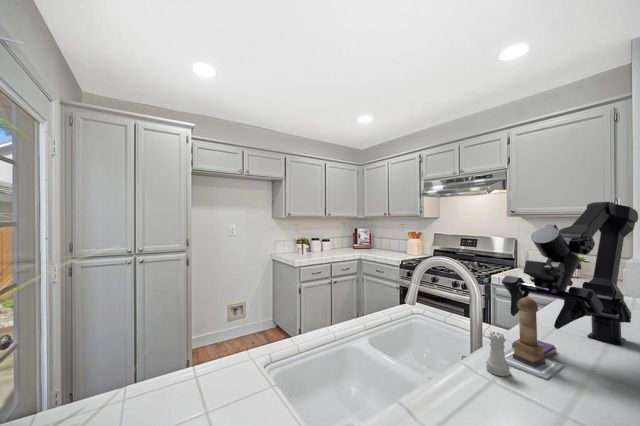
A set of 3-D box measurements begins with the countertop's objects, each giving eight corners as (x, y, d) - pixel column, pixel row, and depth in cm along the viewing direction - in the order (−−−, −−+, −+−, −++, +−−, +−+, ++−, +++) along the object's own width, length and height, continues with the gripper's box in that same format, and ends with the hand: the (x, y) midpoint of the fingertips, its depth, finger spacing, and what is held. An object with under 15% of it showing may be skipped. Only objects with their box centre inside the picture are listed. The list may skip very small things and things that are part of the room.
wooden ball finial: (524, 355, 65) (523, 294, 66) (545, 363, 61) (543, 299, 62) (512, 358, 63) (511, 296, 64) (533, 367, 59) (531, 301, 60)
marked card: (513, 349, 69) (513, 347, 69) (564, 366, 60) (564, 364, 60) (494, 359, 64) (494, 357, 64) (546, 380, 55) (546, 377, 55)
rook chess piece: (514, 378, 56) (513, 339, 56) (490, 375, 57) (489, 337, 57) (504, 367, 60) (503, 331, 60) (482, 365, 61) (481, 329, 61)
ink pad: (523, 342, 73) (523, 335, 73) (556, 352, 67) (556, 345, 68) (512, 348, 70) (511, 341, 70) (545, 359, 64) (545, 352, 64)
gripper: (504, 246, 75) (478, 290, 70) (593, 252, 57) (566, 311, 53) (523, 272, 77) (499, 316, 73) (613, 286, 60) (589, 345, 55)
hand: (532, 320), depth 63 cm, fingers open, 9 cm apart
